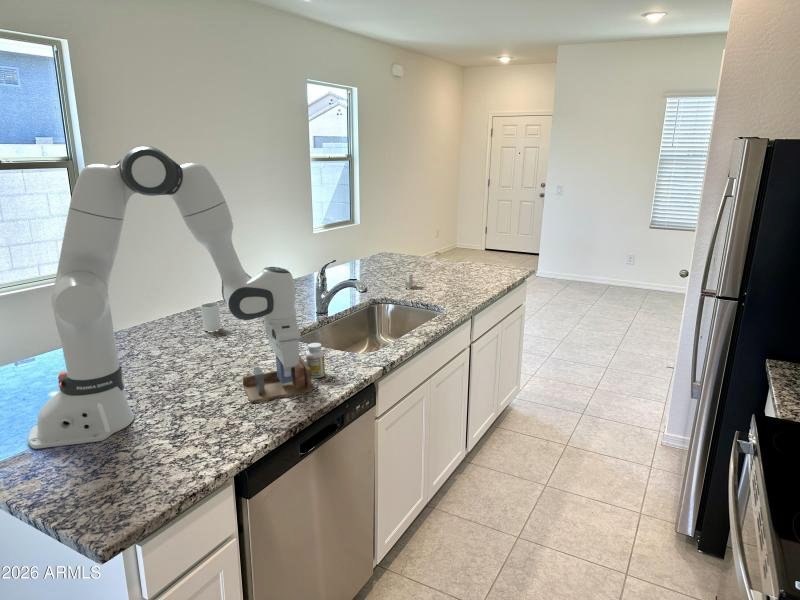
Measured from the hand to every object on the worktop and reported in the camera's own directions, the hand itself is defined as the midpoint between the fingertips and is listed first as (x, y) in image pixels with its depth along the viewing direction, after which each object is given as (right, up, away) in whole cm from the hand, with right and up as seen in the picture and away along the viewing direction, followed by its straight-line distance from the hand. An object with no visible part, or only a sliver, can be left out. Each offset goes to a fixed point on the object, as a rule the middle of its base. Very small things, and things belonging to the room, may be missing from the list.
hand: (284, 371), depth 152 cm
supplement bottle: (+7, -3, +11) cm, 14 cm away
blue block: (0, -2, +1) cm, 2 cm away
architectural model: (+37, +25, +114) cm, 122 cm away
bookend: (-6, -5, -2) cm, 8 cm away
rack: (-2, -5, +1) cm, 6 cm away
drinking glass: (-38, +9, +52) cm, 65 cm away
